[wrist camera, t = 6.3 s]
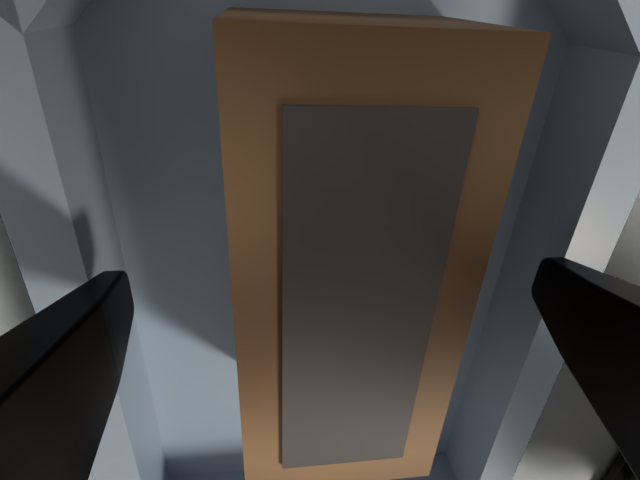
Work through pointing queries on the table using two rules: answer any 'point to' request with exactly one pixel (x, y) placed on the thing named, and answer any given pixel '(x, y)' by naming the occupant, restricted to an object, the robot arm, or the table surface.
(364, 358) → the bar
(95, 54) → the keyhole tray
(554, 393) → the table surface
